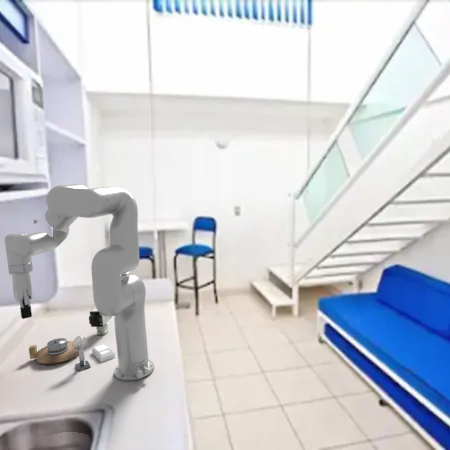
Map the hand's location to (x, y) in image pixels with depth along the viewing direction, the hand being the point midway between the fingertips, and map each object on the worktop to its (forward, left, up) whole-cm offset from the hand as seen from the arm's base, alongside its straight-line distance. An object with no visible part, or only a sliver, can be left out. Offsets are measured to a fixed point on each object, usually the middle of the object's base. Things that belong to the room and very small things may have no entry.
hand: (26, 317), depth 135 cm
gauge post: (-22, -13, -15) cm, 29 cm away
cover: (-8, -8, -12) cm, 17 cm away
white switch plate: (-17, -21, -15) cm, 31 cm away
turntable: (-7, -7, -14) cm, 17 cm away
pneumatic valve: (+2, -26, -15) cm, 30 cm away
